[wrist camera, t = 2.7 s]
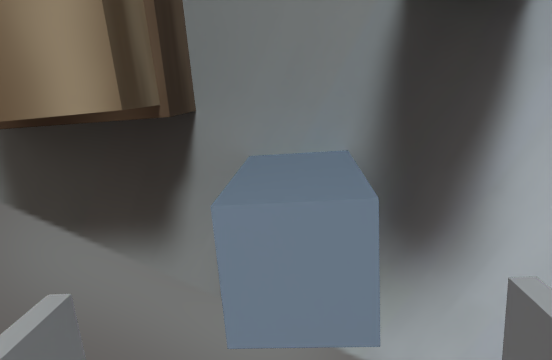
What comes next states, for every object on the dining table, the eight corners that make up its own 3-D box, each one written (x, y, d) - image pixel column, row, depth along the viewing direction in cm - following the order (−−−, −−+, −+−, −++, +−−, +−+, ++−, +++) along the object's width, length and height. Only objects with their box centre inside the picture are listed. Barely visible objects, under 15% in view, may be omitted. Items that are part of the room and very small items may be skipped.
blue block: (347, 150, 23) (378, 198, 13) (350, 243, 25) (380, 346, 15) (249, 156, 24) (210, 206, 14) (257, 246, 25) (227, 348, 15)
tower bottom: (170, -114, 21) (129, -175, 16) (197, 110, 24) (170, 116, 19) (-34, -88, 22) (-131, -137, 17) (15, 123, 25) (-56, 133, 20)
